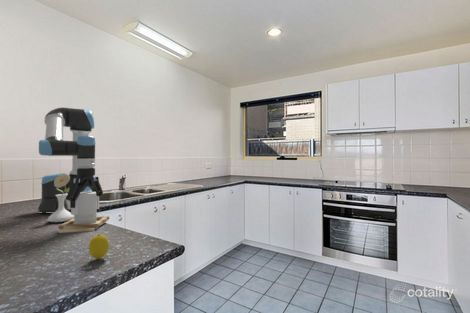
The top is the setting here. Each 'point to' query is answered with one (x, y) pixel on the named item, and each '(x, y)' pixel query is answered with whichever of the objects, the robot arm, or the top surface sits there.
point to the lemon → (98, 246)
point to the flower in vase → (61, 201)
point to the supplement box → (86, 208)
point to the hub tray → (82, 225)
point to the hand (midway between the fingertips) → (85, 211)
